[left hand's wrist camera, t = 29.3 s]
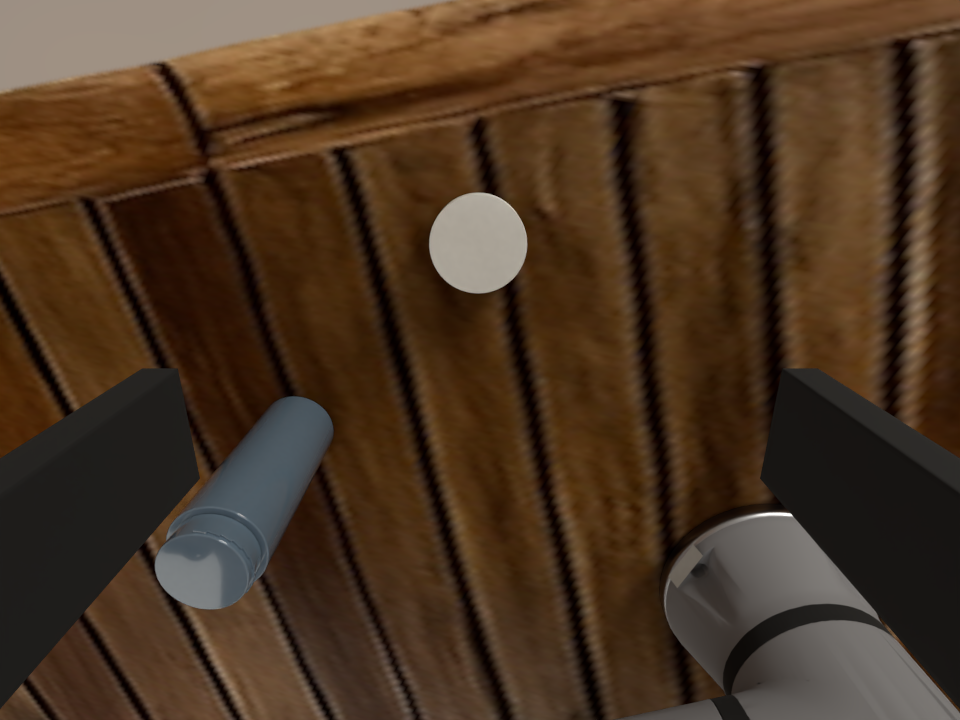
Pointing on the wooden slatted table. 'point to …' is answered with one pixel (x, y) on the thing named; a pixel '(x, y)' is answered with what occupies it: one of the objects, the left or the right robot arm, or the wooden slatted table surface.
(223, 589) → the jar
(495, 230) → the lid
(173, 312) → the wooden slatted table surface
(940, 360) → the wooden slatted table surface
